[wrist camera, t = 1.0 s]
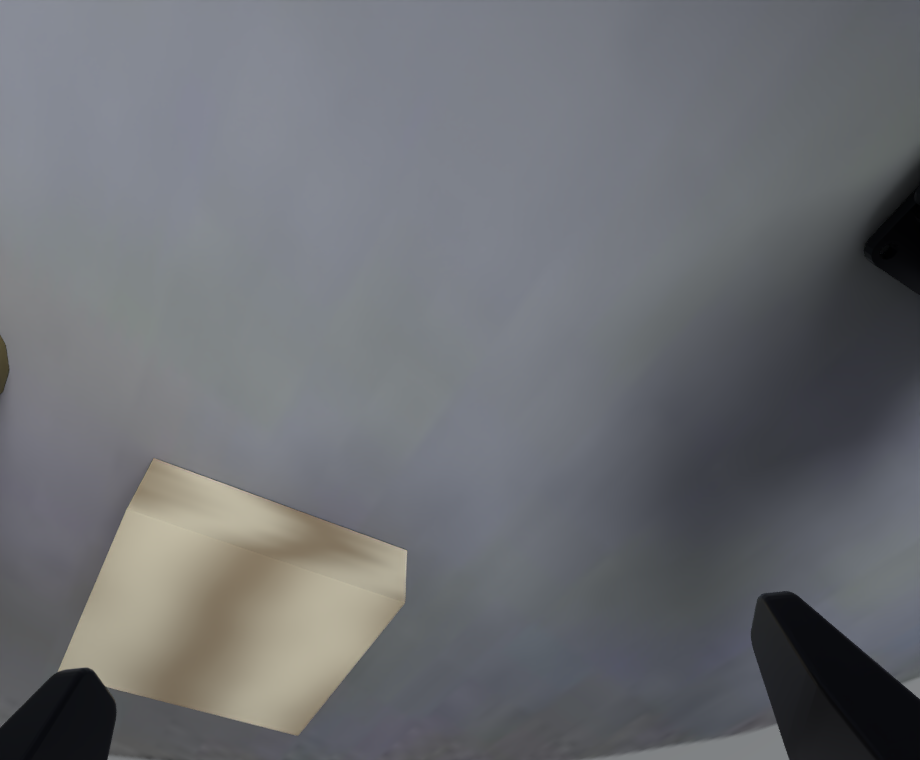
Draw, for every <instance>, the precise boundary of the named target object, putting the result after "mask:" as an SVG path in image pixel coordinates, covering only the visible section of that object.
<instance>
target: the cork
mask: <svg viewBox="0 0 920 760" xmlns="http://www.w3.org/2000/svg"><path fill="white" fill-rule="evenodd" d="M8 373H9V365H8V359H7V352H6V345H5V343H4V341H3V339H2V338H1V336H0V394H1V393H2V392H3V390H4V386H5V383H6V379H7V376H8Z"/></svg>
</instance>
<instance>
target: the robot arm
mask: <svg viewBox="0 0 920 760" xmlns="http://www.w3.org/2000/svg"><path fill="white" fill-rule="evenodd" d="M887 244H890V247H889V248H888V250H887V251H885V252H884V253H881V254H880V251H881V250H882V248H883V247H884V246H885V245H887ZM864 254H865V257H866V258H867V259H868V260H869V261H870V262H872V263H873V264H874V265H876V266H877V267H879V268H880V269H882V270H883V271H885V272H886V273H888V274H889V275H891V276H892V277H894V278H895V279H897V280H898V281H900V282H901V283H903V284H904V285H906V286H907V287H909V288H910V289H912V290H913V291H915V292H916V293H918V294H919V295H920V186H919V187H918V188H917V189H916V190H915V191H914V192H913V193H912V194H911V195H910V196H909V197H908V198H907V200H906V201H905V202H904V203H903V204H902V205H901V206H900V207H899V208H898V209H897V210H896V211H895V212H894V213H893V214H892V215H891V216H890V217H889V219H888V220H887V221H886V222H885V223H884V224H883V225H882V226H881V227H880V228H879V229H878V230H877V231H876V232H875V233H874V234H873V235H872V236H871V238H870V239H869V240H868V242H867V243H866V245H865V248H864ZM751 641H752V646H753V650H754V653H755V656H756V659H757V663H758V666H759V669H760V672H761V675H762V678H763V681H764V684H765V687H766V690H767V693H768V696H769V699H770V702H771V705H772V709H773V712H774V715H775V718H776V721H777V724H778V727H779V730H780V733H781V736H782V739H783V742H784V745H785V748H786V751H787V754H788V757H789V760H920V699H919V698H918V697H916V696H915V695H914V694H913V693H912V692H911V691H909V690H908V689H907V688H906V687H905V686H903V685H902V684H901V683H900V682H899V681H898V680H896V679H895V678H894V677H893V676H892V675H891V674H889V673H888V672H887V671H886V670H885V669H883V668H882V667H881V666H880V665H879V664H878V663H876V662H875V661H874V660H873V659H872V658H870V657H869V656H868V655H867V654H866V653H865V652H863V651H862V650H861V649H860V648H859V647H858V646H856V645H855V644H854V643H853V642H852V641H850V640H849V639H848V638H847V637H846V636H845V635H843V634H842V633H841V632H840V631H839V630H837V629H836V628H835V627H834V626H833V625H832V624H830V623H829V622H828V621H827V620H826V619H825V618H823V617H822V616H821V615H820V614H819V613H817V612H816V611H815V610H814V609H813V608H812V607H810V606H809V605H808V604H807V603H806V602H804V601H803V600H802V599H801V598H800V597H799V596H797V595H796V594H794V593H792V592H788V591H782V592H773V593H764V594H761V595H760V596H759V597H758V599H757V603H756V608H755V613H754V618H753V623H752V629H751ZM115 721H116V703H115V700H114V698H113V696H112V695H111V694H110V692H109V691H108V689H107V688H106V687H105V685H104V684H103V683H102V681H101V680H100V678H99V677H98V676H97V674H96V673H95V672H94V671H93V670H92V669H90V668H86V667H85V668H75V669H66V670H62V671H59V672H57V673H56V674H54V675H53V676H52V677H51V678H49V679H48V680H47V681H46V682H45V683H44V684H43V685H42V686H41V687H40V688H39V689H38V690H37V691H36V692H35V693H34V694H33V695H32V696H31V697H30V698H29V699H28V700H27V701H26V702H25V703H24V704H23V705H22V706H21V707H20V708H19V709H18V710H17V711H16V712H15V713H14V714H13V715H12V716H11V717H10V718H9V719H8V720H7V721H6V722H5V723H4V724H3V725H2V726H1V727H0V760H107V759H108V754H109V749H110V745H111V740H112V735H113V730H114V725H115Z"/></svg>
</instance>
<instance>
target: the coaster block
mask: <svg viewBox="0 0 920 760" xmlns="http://www.w3.org/2000/svg"><path fill="white" fill-rule="evenodd" d="M406 565H407V550H404V549H401V548H399V547H396V546H393V545H390V544H388V543H385V542H382V541H380V540H377V539H374V538H371V537H369V536H366V535H363V534H360V533H358V532H355V531H352V530H349V529H347V528H344V527H341V526H338V525H336V524H333V523H330V522H327V521H325V520H322V519H319V518H316V517H314V516H311V515H308V514H306V513H303V512H300V511H297V510H295V509H292V508H289V507H286V506H284V505H281V504H278V503H275V502H273V501H270V500H267V499H264V498H262V497H259V496H256V495H253V494H251V493H248V492H245V491H243V490H240V489H237V488H234V487H232V486H229V485H226V484H223V483H221V482H218V481H215V480H212V479H210V478H207V477H204V476H201V475H199V474H196V473H193V472H190V471H188V470H185V469H182V468H179V467H177V466H174V465H171V464H169V463H166V462H163V461H160V460H158V459H155V458H154V459H153V461H152V462H151V464H150V466H149V468H148V470H147V472H146V474H145V476H144V478H143V479H142V481H141V483H140V485H139V487H138V489H137V491H136V493H135V495H134V496H133V498H132V500H131V502H130V504H129V506H128V508H127V510H126V512H125V514H124V517H123V519H122V522H121V524H120V526H119V529H118V531H117V533H116V536H115V538H114V540H113V543H112V545H111V547H110V550H109V552H108V554H107V557H106V559H105V562H104V564H103V566H102V569H101V571H100V573H99V576H98V578H97V580H96V583H95V585H94V587H93V590H92V592H91V594H90V597H89V599H88V602H87V604H86V606H85V609H84V611H83V613H82V616H81V618H80V620H79V623H78V625H77V627H76V630H75V632H74V634H73V637H72V639H71V642H70V644H69V646H68V649H67V651H66V653H65V656H64V658H63V660H62V663H61V665H60V667H59V670H58V672H59V671H62V670H66V669H75V668H85V667H86V668H90V669H92V670H93V671H94V672H95V673H96V674H97V676H98V677H99V678H100V680H101V681H102V683H103V684H104V685H105V687H108V688H112V689H116V690H120V691H124V692H128V693H132V694H136V695H140V696H144V697H148V698H151V699H155V700H159V701H163V702H167V703H171V704H175V705H179V706H183V707H187V708H191V709H194V710H198V711H202V712H206V713H210V714H214V715H218V716H222V717H226V718H230V719H234V720H238V721H241V722H245V723H249V724H253V725H257V726H261V727H265V728H269V729H273V730H277V731H281V732H284V733H288V734H292V735H296V736H298V735H299V734H300V733H301V732H302V730H303V729H304V728H305V727H306V725H307V724H308V723H309V722H310V720H311V719H312V718H313V717H314V715H315V714H316V713H317V712H318V710H319V709H320V708H321V707H322V705H323V704H324V703H325V702H326V700H327V699H328V698H329V697H330V696H331V694H332V693H333V692H334V691H335V689H336V688H337V687H338V686H339V684H340V683H341V682H342V681H343V679H344V678H345V677H346V676H347V674H348V673H349V672H350V671H351V669H352V668H353V667H354V666H355V664H356V663H357V662H358V661H359V659H360V658H361V657H362V656H363V655H364V653H365V652H366V651H367V650H368V648H369V647H370V646H371V645H372V643H373V642H374V641H375V640H376V638H377V637H378V636H379V635H380V633H381V632H382V631H383V630H384V628H385V627H386V626H387V625H388V623H389V622H390V621H391V620H392V618H393V617H394V616H395V615H396V614H397V612H398V611H399V610H400V609H401V607H402V606H403V605H404V604H405V591H406Z"/></svg>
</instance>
